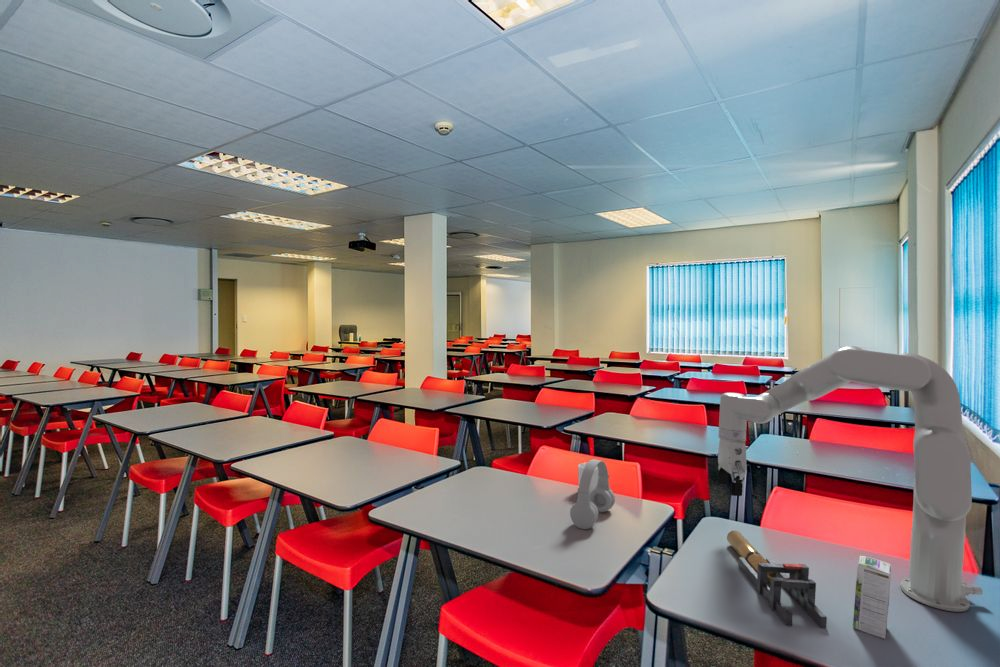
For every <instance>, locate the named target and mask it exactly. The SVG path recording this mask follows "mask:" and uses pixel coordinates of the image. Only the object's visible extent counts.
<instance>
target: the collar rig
mask: <svg viewBox="0 0 1000 667" xmlns="http://www.w3.org/2000/svg"><path fill="white" fill-rule="evenodd" d="M765 560H766V561H767V562H768V563H758V572H757V573H756V572H755V570H754V569H753V568H752V567H751V566H750V565H749V563H748V562H747V561H746V560H745V559H744V558H743V557H741V556H739V557H738V561H737V566H738V567H739V569H740V570H741V571H742V572H743V574H744V575H745V576H746V578H748V580H749V581H750V583H751V584H752V585H753V586H754V587H755V589H756V591H757V593H758V594H759V595H761V596H762V597H763V599H765V601H766V602H767V603H768V604H769V608H770V609H771V610H772V611H773V612H775V614H776V615H777V616H778V617H779V618H780V619H781V621H782V622H783V623H784V624H785V625H786V626H793V613H791V612H790V610H789V609H788V607H786V606H785V604H784V603H783V602H782V601H781V599H782V598H781V596H782V589H783V588H784V589H785V590H786V592H788V594H789V595H791V597H792V598H793V599H794V600H795V601H796V602H797V603H798V604H799V606H800V607H801V608H802V609H803V610H804V611H805V613H806V614H808V616H810V617H811V619H813V621H814V622H815V623H816V624H817V625H818V627H819V628H821V629H822V628H823V629H824V628H825V629H827V623H828V622H827V621H828V620H827V619H828V617H827V616H826V614H824V613H823V612H822V610H820V609H819V608H818V606H817V605H816V590H817V587H816V586H817V583H816V581H814V580H813V579H811V578H810V579H809V577H810V576H809V575H810V568H809V567H808V565H806V564H804V563H798V564H797V563H775V561H774V560H773V559H772V558H766V559H765ZM767 572H774V573H776V577H771V582H770V587H769V585H768V583H767ZM787 574H789V576H788V575H787Z"/></svg>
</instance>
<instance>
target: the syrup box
mask: <svg viewBox="0 0 1000 667" xmlns="http://www.w3.org/2000/svg"><path fill="white" fill-rule="evenodd" d="M891 576H892V564H890V563H889V562H886V561H883V560H880V559H877V558H873V557H869V556H867V555H866V556H864V555H859V559H858V565H857V573H856V581H855V591H854V604H853V605H854V606H853V621H852V628H853V629H855V630H857V631H860V632H863V633H867V634H869V635H872V636H874V637H875V636H876V637H878V638H882V639H884V640H885V639H886V637H887V630H888V629H887V627H888V615H889V606H890V605H889V604H890V603H889V602H890V591H891V590H890V589H891V579H892V578H891Z"/></svg>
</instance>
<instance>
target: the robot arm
mask: <svg viewBox="0 0 1000 667" xmlns="http://www.w3.org/2000/svg"><path fill="white" fill-rule="evenodd" d="M850 383H855V384H861V385H866V386H872V387H878V388H882V389H883V388H884V389H888V390H889V389H890V390H896V391H900V392H901V391H902V392H910V393H911V394H912V397H913V410H914V411H913V412H914V436H913V440H912V443H913V462H914V463H913V464H914V466H913V468H914V481H913V504H912V522H911V523H912V526H911V534H910V538H911V539H910V552H909V553H910V554H909V566H908V569H909V570H908V577H907V578H904V579H901V581H900V583H899V588H900V590H901V591H902V592H904V594H906V596H909V597H910V598H912V599H913V600H915V601H917V602H919V603H921V604H923V605H926V606H929V607H932V608H934V609H935V608H936V609H938V610H941V611H942V610H943V611H948V612H955V613H956V612H957V613H958V612H959V613H960V612H967V611H968V610H969V609H970V601H969V600H968V598H967V597H966V596H969V595H974V596H976V595H977V596H980V595H981V596H982V595H983V594H984V593H983V592H984V591H983V588H982V587H981V586H979V585H968V584H967V582H966V581H965V580H963V569H964V568H963V566H964V554H965V552H964V551H965V541H966V526H967V524H966V522H967V515H968V514H969V513H970V511H971V508H972V504H973V503H972V501H973V500H972V499H973V497H972V496H973V495H972V493H973V492H972V469H971V468H972V466H971V465H972V464H971V455H970V449H969V447H968V444H967V442H966V440H965V438H964V430H963V415H962V406H961V405H962V404H961V397H960V392H959V389H958V387H957V384H956V382H955V380H954V379H953V377H952V376H951V374H950V373H948V371H947V370H946V369H944V367H942V366H941V365H940V364H938V363H937V362H935V361H934V360H931V359H929V358H928V357H925V356H922V355H919V354H916V353H912V352H911V353H910V352H909V353H908V352H905V353H904V352H903V353H899V354H898V353H889V352H882V351H875V350H867V349H863V348H861V347H858V346H855V345H847V346H843V347H841V348H839V349H836V350H835V351H833V352H831V353H830V354H828V355H826V356H824V357H823V358H820V359H818V360H817V361H815V362H813V363H811V364H809V365H807V366H806V367H804V368H802V369H800V370H798V371H797V372H795V373H794V374H793V375H791V376H790V377H788V378H787V379H786V380H784V381H783V382H781V383H779V384H777V385H775V386H774V387H771V388H770V389H768V390H765V392H762V393H760V394H758V395H756V396H754V397H749V396H746V395H745V394H743V393H739V392H724V393H722V394H721V395H720V397H719V398H720V399H719V419H718V420H719V422H718V439H719V442H718V451H717V452H718V453H717V464H718V466H717V470H718V471H717V483H718V484H719V485H729V480H730V477H731V481H730V490H729V492H730V496H732V497H733V496H735V497H741V496H743V488H744V487H743V484H744V480H745V475H746V474H747V446H746V441H747V424H748V423H747V422H750V423H751V422H752V423H756V424H761V425H762V424H766V423H769V422H770V421H771V420H773V419H774V418H776V417H777V416H778V415H780V414H782V413H785V412H786V411H788V410H791V409H793V408H795V407H797V406H799V405H801V404H803V403H806V402H809V401H815V400H817V399H819V398H822V397H823V396H826V395H827V394H829V393H831V392H834V391H835V390H837V389H840V388H841V387H844V386H845V385H848V384H850Z"/></svg>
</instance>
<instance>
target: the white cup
mask: <svg viewBox="0 0 1000 667" xmlns="http://www.w3.org/2000/svg"><path fill="white" fill-rule="evenodd" d="M587 463H588V462H584V463H579V464H578V465H577V466H578V468H577V471H578V486H579V485H580V480H581V476H582V473H583V470H584V468H585V466H586V464H587ZM598 473H599V472H598V467H597V466H596V468H595V470H594V472H593V475H592V478H591V482H590V487H589V491H590V492H591V491H592V490H593V489H594V488H595V487H596V486H597V484H598V478H599V476H598ZM589 494H590V493H589Z"/></svg>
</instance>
